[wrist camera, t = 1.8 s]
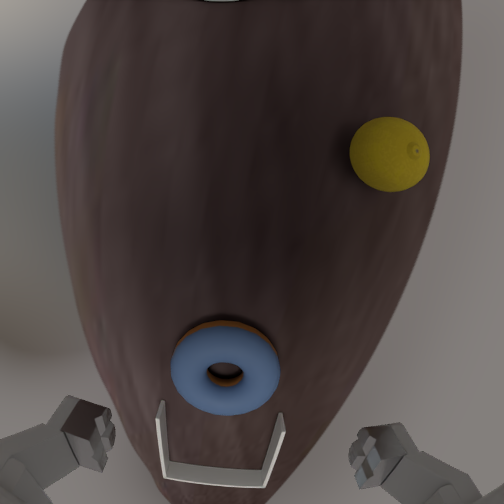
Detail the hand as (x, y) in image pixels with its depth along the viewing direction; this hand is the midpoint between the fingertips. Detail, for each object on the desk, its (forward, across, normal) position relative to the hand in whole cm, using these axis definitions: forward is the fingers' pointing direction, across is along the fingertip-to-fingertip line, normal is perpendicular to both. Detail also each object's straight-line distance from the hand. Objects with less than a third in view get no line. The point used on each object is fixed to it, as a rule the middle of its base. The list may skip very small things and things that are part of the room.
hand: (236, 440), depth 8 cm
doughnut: (+18, 0, +9) cm, 20 cm away
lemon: (+17, -9, -11) cm, 23 cm away
